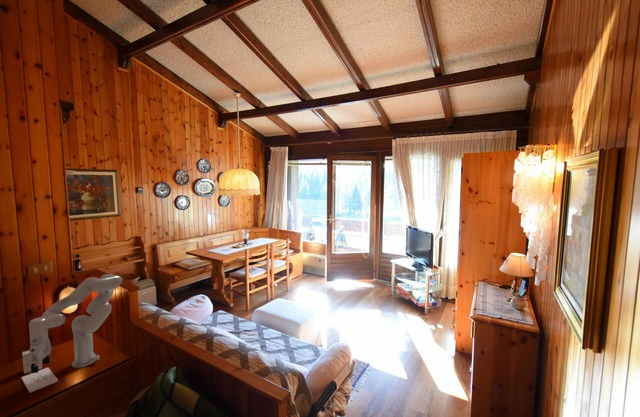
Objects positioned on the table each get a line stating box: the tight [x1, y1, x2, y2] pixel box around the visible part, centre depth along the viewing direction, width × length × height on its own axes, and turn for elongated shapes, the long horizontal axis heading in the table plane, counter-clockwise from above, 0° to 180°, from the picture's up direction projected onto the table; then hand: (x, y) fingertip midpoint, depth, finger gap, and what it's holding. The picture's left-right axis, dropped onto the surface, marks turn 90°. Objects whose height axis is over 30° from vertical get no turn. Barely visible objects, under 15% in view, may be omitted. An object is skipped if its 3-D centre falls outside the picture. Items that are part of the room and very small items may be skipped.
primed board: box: [20, 367, 59, 393], centre depth 173 cm, size 20×12×1 cm, turn 55°
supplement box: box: [22, 349, 43, 374], centre depth 182 cm, size 8×5×13 cm, turn 137°
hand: (40, 367), depth 170 cm, fingers open, 8 cm apart
